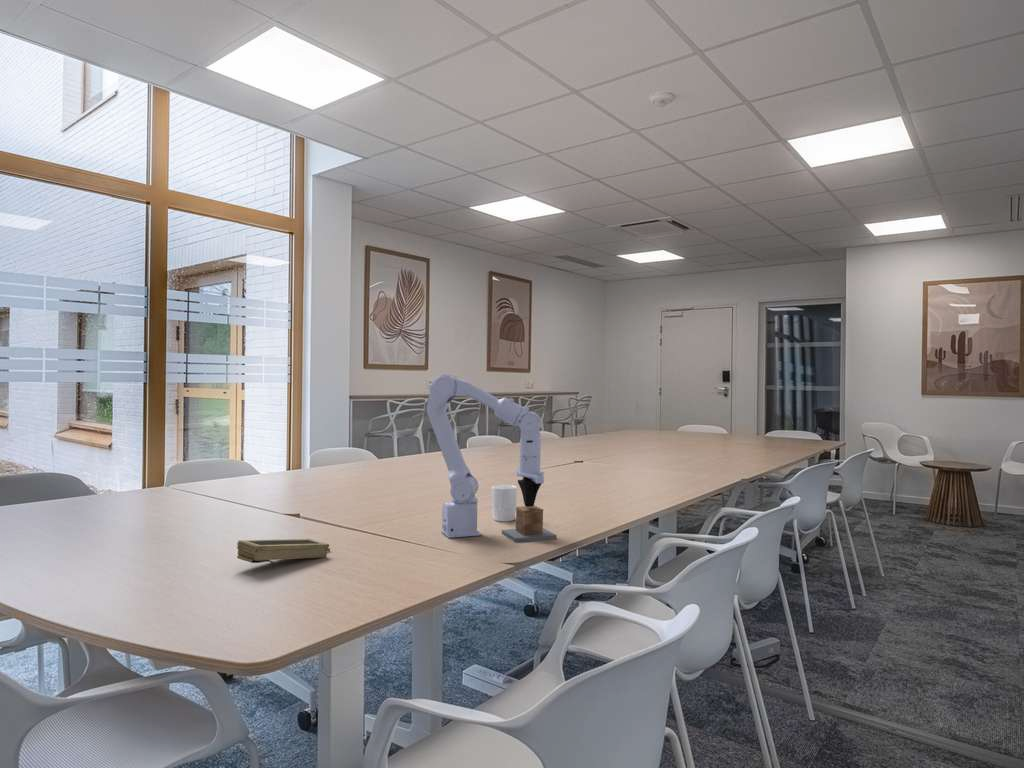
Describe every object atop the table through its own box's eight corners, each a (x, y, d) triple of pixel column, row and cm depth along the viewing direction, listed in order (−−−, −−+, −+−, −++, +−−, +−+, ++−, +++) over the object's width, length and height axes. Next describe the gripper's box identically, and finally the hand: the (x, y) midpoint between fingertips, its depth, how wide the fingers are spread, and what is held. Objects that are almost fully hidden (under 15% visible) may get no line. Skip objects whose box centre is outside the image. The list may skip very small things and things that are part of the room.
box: (232, 563, 135) (236, 539, 136) (316, 558, 153) (319, 537, 154) (254, 570, 130) (258, 546, 131) (338, 564, 148) (341, 543, 149)
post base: (515, 542, 162) (515, 523, 162) (501, 533, 171) (502, 515, 171) (556, 538, 166) (556, 520, 166) (541, 530, 176) (541, 512, 176)
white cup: (487, 521, 187) (488, 487, 187) (495, 515, 194) (496, 484, 194) (512, 523, 185) (513, 489, 185) (519, 517, 192) (520, 485, 192)
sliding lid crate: (523, 535, 165) (523, 510, 165) (515, 530, 170) (516, 506, 170) (542, 533, 167) (543, 509, 167) (534, 529, 172) (534, 505, 172)
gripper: (554, 458, 163) (553, 510, 163) (532, 453, 177) (532, 500, 177) (529, 459, 161) (529, 511, 161) (509, 453, 174) (509, 501, 174)
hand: (529, 506), depth 169 cm, fingers closed
